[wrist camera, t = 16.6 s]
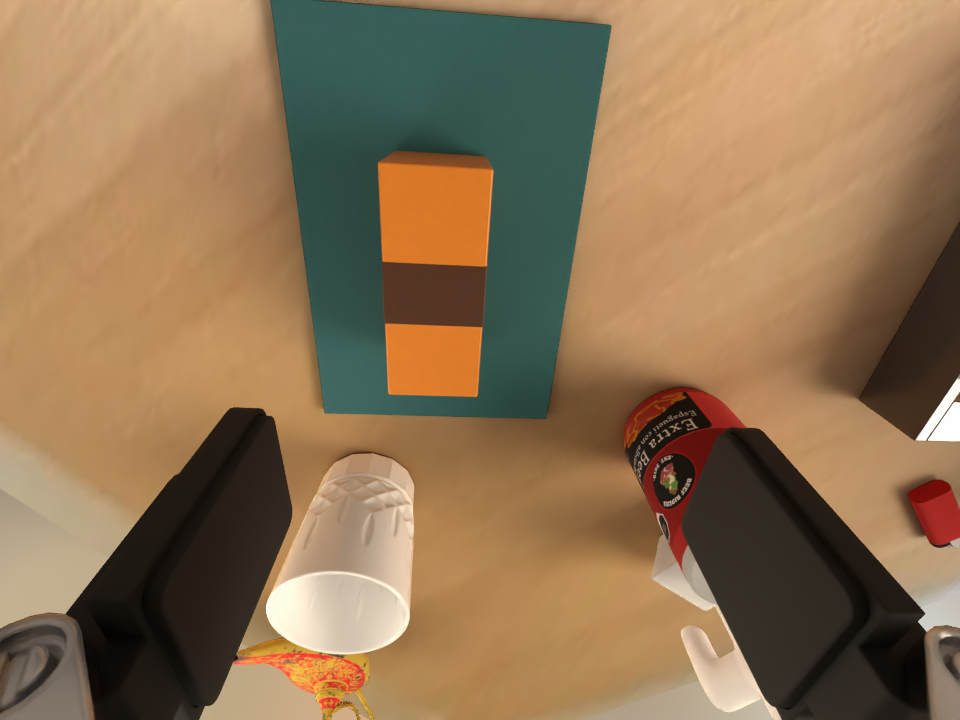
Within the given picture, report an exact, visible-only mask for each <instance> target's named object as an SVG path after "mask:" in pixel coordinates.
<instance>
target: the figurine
mask: <svg viewBox="0 0 960 720" xmlns="http://www.w3.org/2000/svg"><path fill="white" fill-rule="evenodd" d="M651 579H653V580H654V581H656V582H657V583H659V584H661V585H662V586H664V587H666V588H667V589H669V590H671V591H672V592H674V593H676V594H677V595H679V596H681V597H682V598H684V599H686V600H687V601H689V602H691V603H692V604H694V605H696V606H697V607H699V608H701V609H702V610H704V611H708V610H709V609H711V608H713V607H716V609H717V611H718V613H719V615H720V617H721V619H722V621H723V623H724V625H725V627H726V629H727V631H728V633H729V635H730V637H731V639H732V641H733V642H734V647H735V650H734V651H732V652H730V653H728V654H726V655H725V656H723V657H721V658H718V657H717V655H716V653H715V651H714V650H713V648H712V646H711V643H710V641H709V639H708V637H707V636H706V634H705V633H704V632H703V631H702V630H701V629H700V628H698V627H696V626H686V627H684V628H683V629H682V631H681V638H682V641H683V643H684V646H685V648H686V650H687V653H688V655H689V657H690V660H691V662H692V665H693V667H694V669H695V672H696V674H697V676H698V679H699V681H700V683H701V685H702V687H703V689H704V691H705V693H706V695H707V696H708V698H709V699H710V700H711V702H712V703H713V704H714V705H715V706H716V707H717V708H718V709H720V710H722V711H725V712H732V711H735V710H738V709H740V708H742V707H744V706H746V705H749V704H751V703H753V702H755V701H757V700H759V699H761V698H762V699H763V701H764V703H765V705H766V707H767V709H768V711H769V713H770V715H771V717H772V719H773V720H782V719H781V717H780V715H779V713H778V711H777V710H776V708H775V707H773V706H771V705H770V704H769V703H768V702H767V701H766V700H765V698H764V696H763V695H762V693H761V691H760V689H759V687H758V685H757V683H756V681H755V679H754V677H753V675H752V673H751V671H750V669H749V667H748V665H747V663H746V661H745V659H744V657H743V655H742V653H741V651H740V649H739V647H738V645H737V643H736V641H735V639H734V637H733V635H732V633H731V631H730V629H729V627H728V624H727V622H726V620H725V618H724V616H723V614H722V612H721V610H720V608H719V606H718V605H716V604H713V603H710V602H708V601H706V600H704V599H702V598H700V597H699V596H698V595H697V594H696V593H695V592H694V591H693V589H692V588H691V586H690V584H689V583H688V582H687V580H686V578H685V576H684V574H683V572H682V570H681V568H680V566H679V564H678V562H677V560H676V558H675V557H674V555H673V553H672V550H671V548H670V546H669V544H668V542H667V540H666V538H665V536H664V534H663V535H662V536H660V537H659V541H658V546H657V551H656V557H655V562H654V567H653V572H652V578H651Z"/></svg>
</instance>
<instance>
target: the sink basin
mask: <svg viewBox="0 0 960 720" xmlns="http://www.w3.org/2000/svg"><path fill="white" fill-rule="evenodd" d="M859 401H861V402H862V403H863V404H865V405H866V406H868V407H869V408H870V409H872V410H873V411H874V412H876V413H877V414H879V415H880V416H881V417H883V418H884V419H885V420H887V421H888V422H889V423H891V424H892V425H894V426H895V427H896V428H898V429H899V430H900V431H902V432H903V433H905V434H906V435H907V436H909V437H910V438H911V439H913V440H915V441H955V442H960V223H959V225H958V227H957V228H956V230H955V232H954V234H953V235H952V237H951V239H950V241H949V242H948V244H947V246H946V248H945V249H944V251H943V253H942V255H941V256H940V258H939V260H938V262H937V263H936V265H935V267H934V269H933V270H932V272H931V274H930V276H929V277H928V279H927V281H926V283H925V284H924V286H923V288H922V290H921V291H920V293H919V295H918V297H917V298H916V300H915V302H914V304H913V306H912V307H911V309H910V311H909V313H908V314H907V316H906V318H905V320H904V321H903V323H902V325H901V327H900V328H899V330H898V332H897V334H896V335H895V337H894V339H893V341H892V342H891V344H890V346H889V348H888V349H887V351H886V353H885V355H884V356H883V358H882V360H881V362H880V363H879V365H878V367H877V369H876V370H875V372H874V374H873V376H872V377H871V379H870V381H869V383H868V384H867V386H866V388H865V390H864V391H863V393H862V395H861V397H860V398H859Z"/></svg>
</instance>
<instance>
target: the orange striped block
mask: <svg viewBox="0 0 960 720" xmlns="http://www.w3.org/2000/svg"><path fill="white" fill-rule="evenodd" d="M493 172H494V171H493V168H492V167H491V165H490V163H489V161H488V159H487V158H486V157H485V156H474V155H458V154H442V153H427V152H411V151H394V152H393V153H391V154H390V155H388V156H387V157H385V158H384V159H382V160H381V161H379V162H378V180H379V202H380V224H381V246H382V262H381V265H382V287H383V308H384V323H385V334H386V356H387V378H388V393H389V394H393V395H428V396H464V397H477V395H478V383H479V369H480V355H481V341H482V327H483V323H484V309H485V295H486V281H487V257H488V243H489V228H490V214H491V200H492V186H493Z"/></svg>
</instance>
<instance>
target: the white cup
mask: <svg viewBox="0 0 960 720" xmlns="http://www.w3.org/2000/svg"><path fill="white" fill-rule="evenodd" d="M413 500H414V483H413V481H412V479H411V477H410V475H409V473H408V471H407V470H406V469H405V468H404V467H402V466H401V465H400V464H398V463H397V462H396V461H395V460H393V459H391V458H387V457H384V456H381V455H377V454H374V453H368V454H352V455H349V456H347V457H345V458H343V459H341V460H339V461H336V462H335V463H334V464H333V465H332V466H331V468H330V469H329V470H328V472H327V473H326V474H325V476H324V478H323V480H322V482H321V485H320V487H319V490H318V492H317V494H316V495H315V497H314V499H313V501H312V503H311V505H310V507H309V509H308V511H307V514H306V516H305V518H304V519H303V521H302V524H301V526H300V528H299V530H298V532H297V535H296V537H295V539H294V542H293V544H292V546H291V548H290V551H289V553H288V555H287V558H286V560H285V562H284V565H283V567H282V569H281V571H280V574H279V576H278V578H277V580H276V583H275V585H274V587H273V589H272V592H271V594H270V596H269V598H268V601H267V606H266V612H267V617H268V619H269V622H270V623H271V625H272V626H273V628H274V629H275V630H276V631H277V632H278V633H279V634H280V635H281V636H283V637H284V638H286V639H287V640H289V641H290V642H292V643H294V644H296V645H298V646H301V647H303V648H306V649H309V650H313V651H317V652H322V653H328V654H359V653H365V652H370V651H374V650H377V649H380V648H382V647H385V646H387V645H389V644H390V643H392V642H394V641H395V640H396V639H398V638H399V637H400V636H401V635H402V634H403V633H404V631H405V630H406V628H407V626H408V623H409V619H410V600H411V580H412V562H413V544H414V518H413Z"/></svg>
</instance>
